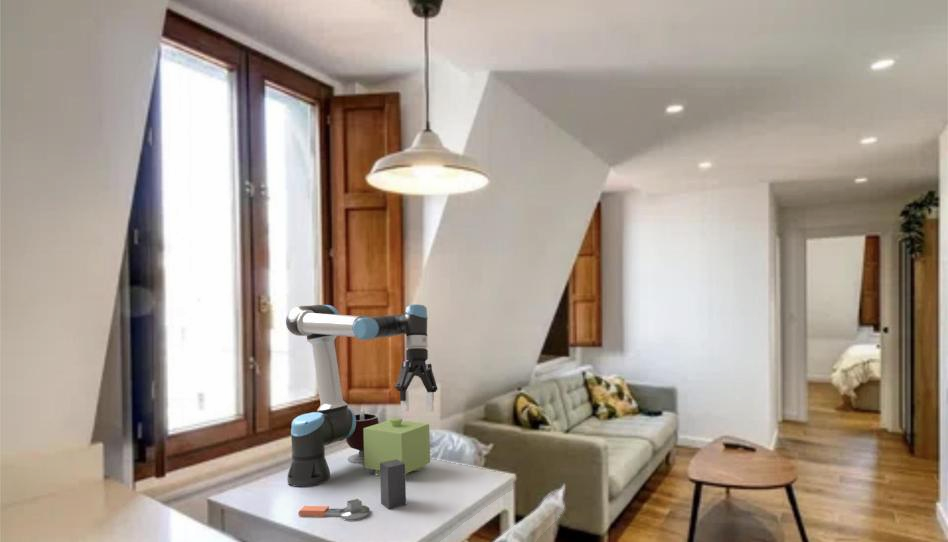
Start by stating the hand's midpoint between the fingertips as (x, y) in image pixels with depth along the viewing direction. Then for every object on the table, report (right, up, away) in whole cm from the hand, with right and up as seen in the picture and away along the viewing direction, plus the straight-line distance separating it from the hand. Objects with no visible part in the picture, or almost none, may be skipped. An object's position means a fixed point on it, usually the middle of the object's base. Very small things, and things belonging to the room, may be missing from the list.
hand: (417, 411), depth 185 cm
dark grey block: (-7, -27, -10) cm, 30 cm away
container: (-10, -29, +23) cm, 38 cm away
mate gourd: (-27, -30, +41) cm, 57 cm away
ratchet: (-24, -28, -16) cm, 40 cm away
